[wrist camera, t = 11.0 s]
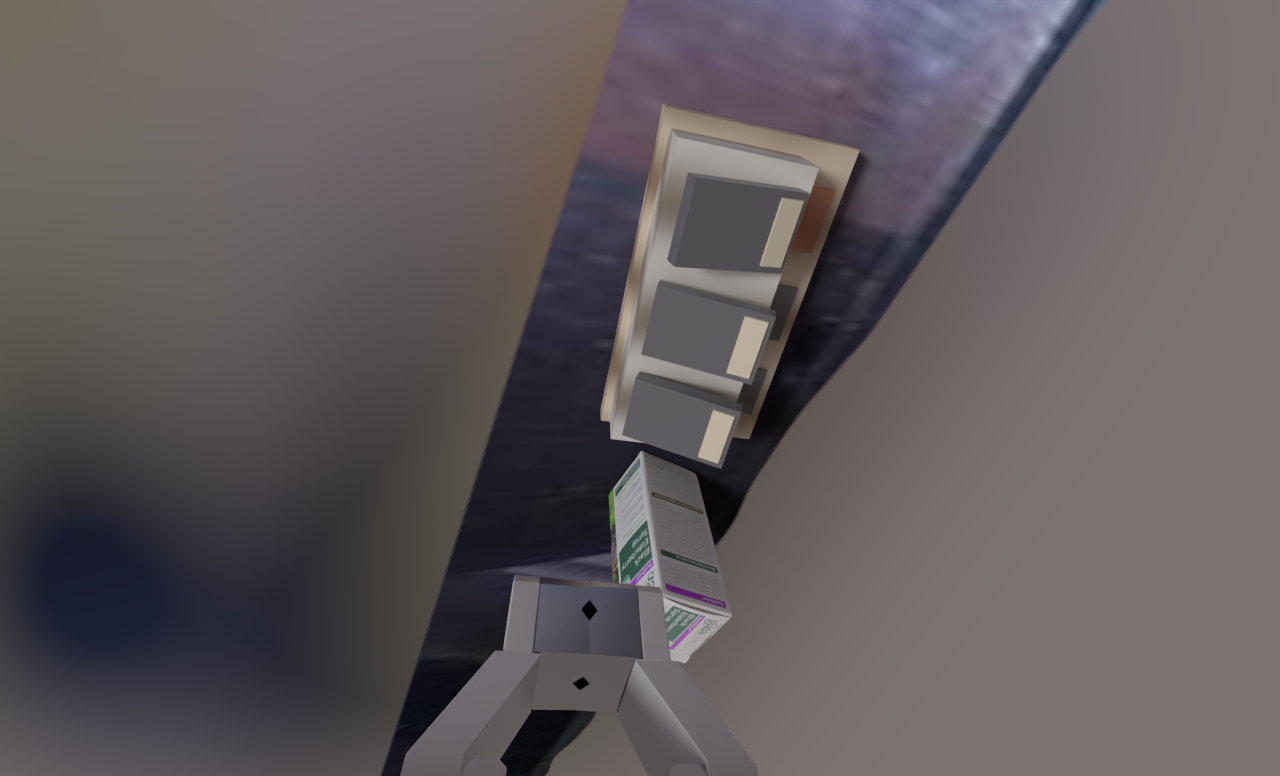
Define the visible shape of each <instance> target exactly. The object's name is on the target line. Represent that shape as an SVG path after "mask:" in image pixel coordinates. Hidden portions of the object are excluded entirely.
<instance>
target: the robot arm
mask: <svg viewBox="0 0 1280 776" xmlns="http://www.w3.org/2000/svg"><path fill="white" fill-rule="evenodd" d="M531 709H537V710H581V711H596V712H611V713H617V717H618V719H619V721H620V723H621V725H622V727H623V728H624V730H625V732H626V734H627V736H628V738H629V739H630V741H631V743H632V745H633V747H634V749H635V751H636V753H637V755H638V756H639V758H640V760H641V762H642V764H643V766H644V768H645V770H646V772H647V773H648V775H649V776H758V772H757V767H756V764H755V763H754V761H753V760H752V759H751V757H750V756H749V755H748V753H747V752H746V751H745V749H744V748H743V747H742V745H741V744H740V743H739V741H738V740H737V739H736V737H735V736H734V735H733V733H732V732H731V731H730V730H729V728H728V727H727V726H726V724H725V723H724V722H723V720H722V719H721V718H720V716H719V715H718V714H717V712H716V711H715V710H714V708H713V707H712V706H711V704H710V703H709V702H708V701H707V699H706V698H705V697H704V695H703V694H702V693H701V691H700V690H699V689H698V687H697V686H696V685H695V683H694V682H693V681H692V679H691V678H690V677H689V675H688V674H687V673H686V671H685V670H684V669H683V667H682V666H681V665H680V664H679V662H678V661H671V658H670V650H669V642H668V634H667V626H666V618H665V611H664V603H663V595H662V590H661V589H660V587H655V586H642V585H635V584H622V583H607V582H591V581H588V582H581V581H571V580H562V579H553V578H543V577H541V578H540V577H532V576H521V575H515V577H514V581H513V586H512V593H511V600H510V606H509V613H508V620H507V627H506V634H505V640H504V647H503V651H495V652H494V653H493V654H492V655H491V656H490V657H489V659H488V660H487V661H486V662H485V663H484V664H483V666H482V667H481V668H480V669H479V670H478V671H477V672H476V674H475V675H474V676H473V677H472V678H471V679H470V681H469V682H468V683H467V684H466V685H465V686H464V687H463V689H462V690H461V691H460V692H459V693H458V694H457V696H456V697H455V698H454V699H453V700H452V701H451V703H450V704H449V705H448V706H447V707H446V708H445V709H444V711H443V712H442V713H441V714H440V715H439V716H438V718H437V719H436V720H435V721H434V722H433V723H432V724H431V726H430V727H429V728H428V729H427V730H426V731H425V733H424V734H423V735H422V736H421V737H420V738H419V740H418V741H417V742H416V743H415V744H414V745H413V746H412V748H411V749H410V750H409V751H408V752H407V753H406V756H405V760H404V764H403V768H402V771H401V775H400V776H506V769H507V767H506V766H505V765H504V764H503V763H502V762H501V761H500V758H501V757H502V755H503V754H504V752H505V750H506V749H507V747H508V746H509V744H510V743H511V741H512V740H513V738H514V737H515V735H516V734H517V732H518V731H519V729H520V728H521V726H522V725H523V723H524V722H525V720H526V719H527V717H528V716H529V714H530V712H531Z"/></svg>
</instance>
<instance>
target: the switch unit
mask: <svg viewBox="0 0 1280 776" xmlns="http://www.w3.org/2000/svg"><path fill="white" fill-rule="evenodd" d="M859 151H860V150H858V149H856V148H854V147H851V146H848V145H844V144H839V143H835V142H830V141H826V140H821V139H817V138H813V137H808V136H804V135H799V134H795V133H790V132H786V131H781V130H777V129H773V128H768V127H764V126H759V125H755V124H750V123H746V122H741V121H737V120H733V119H728V118H724V117H719V116H715V115H710V114H706V113H701V112H697V111H693V110H688V109H684V108H679V107H675V106H670V105H666V104H663V106H662V111H661V116H660V121H659V126H658V131H657V136H656V141H655V146H654V150H653V155H652V160H651V165H650V170H649V175H648V180H647V185H646V190H645V195H644V199H643V204H642V209H641V214H640V219H639V224H638V229H637V234H636V239H635V244H634V248H633V253H632V258H631V263H630V268H629V273H628V278H627V283H626V288H625V293H624V298H623V302H622V307H621V312H620V317H619V322H618V327H617V332H616V337H615V342H614V347H613V351H612V356H611V361H610V366H609V371H608V376H607V381H606V386H605V391H604V396H603V401H602V405H601V420H602V421H610V431H611V439H617V440H625V441H633V442H641V441H638V440H635V439H632V438H629V437H626V436H623V435H622V433H623V429H624V425H625V420H626V416H627V412H628V408H629V403H630V399H631V395H632V391H633V386H634V382H635V378H636V376H637V375H638V373H639V372H643V373H646V374H649V375H652V376H656V377H659V378H662V379H665V380H668V381H671V382H674V383H677V384H680V385H683V386H687V387H690V388H693V389H696V390H699V391H702V392H705V393H708V394H711V395H714V396H718V397H721V398H724V399H727V400H730V401H733V402H736V403H739V404H742V405H743V408H742V412H741V415H740V418H739V420H738V423H737V426H736V429H735V431H734V434H733V437H736V438H744V439H749V438H750V435H751V433H752V430H753V428H754V425H755V422H756V420H757V417H758V414H759V412H760V409H761V407H762V404H763V401H764V399H765V396H766V394H767V391H768V388H769V386H770V383H771V381H772V378H773V375H774V373H775V370H776V367H777V365H778V362H779V360H780V357H781V354H782V352H783V349H784V347H785V344H786V341H787V339H788V336H789V334H790V331H791V328H792V326H793V323H794V321H795V318H796V315H797V313H798V310H799V307H800V305H801V302H802V300H803V297H804V294H805V292H806V289H807V287H808V284H809V281H810V279H811V276H812V274H813V271H814V268H815V266H816V263H817V260H818V258H819V255H820V253H821V250H822V247H823V245H824V242H825V240H826V237H827V234H828V232H829V229H830V227H831V224H832V221H833V219H834V216H835V213H836V211H837V208H838V206H839V203H840V200H841V198H842V195H843V193H844V190H845V187H846V185H847V182H848V180H849V177H850V174H851V172H852V169H853V166H854V164H855V161H856V159H857V156H858V153H859ZM688 172H689V173H696V174H703V175H710V176H717V177H724V178H731V179H738V180H745V181H752V182H759V183H766V184H773V185H780V186H787V187H794V188H800V189H802V190H804V191H806V192H808V193H810V194H809V197H808V200H807V203H806V206H805V209H804V211H803V214H802V217H801V220H800V223H799V226H798V228H797V231H796V234H795V237H794V240H793V243H792V245H791V248H790V251H789V254H788V257H787V260H786V262H785V265H784V268H783V271H782V274H778V273H762V272H746V271H730V270H714V269H698V268H683V267H674V266H673V265H672V264H671V263H670V262H669V261H668V260H667V258H668V254H669V250H670V246H671V241H672V237H673V233H674V229H675V225H676V220H677V216H678V212H679V208H680V204H681V199H682V195H683V191H684V187H685V183H686V178H687V174H688ZM660 280H663V281H667V282H670V283H674V284H678V285H682V286H685V287H689V288H693V289H697V290H700V291H704V292H708V293H712V294H715V295H719V296H723V297H727V298H730V299H734V300H738V301H741V302H745V303H749V304H753V305H756V306H760V307H764V308H768V309H771V310H775V311H776V319H775V322H774V325H773V327H772V330H771V333H770V336H769V338H768V341H767V344H766V347H765V349H764V352H763V355H762V358H761V360H760V363H759V366H758V369H757V371H756V374H755V377H754V380H753V382H752V385H750V384H746V383H743V382H739V381H735V380H732V379H728V378H724V377H721V376H717V375H714V374H710V373H706V372H703V371H699V370H695V369H692V368H688V367H685V366H681V365H677V364H674V363H670V362H666V361H663V360H659V359H656V358H652V357H648V356H645V355H641V353H642V348H643V344H644V340H645V336H646V331H647V327H648V323H649V319H650V314H651V310H652V306H653V302H654V297H655V293H656V289H657V285H658V283H659V281H660ZM641 443H644V442H641Z"/></svg>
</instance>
